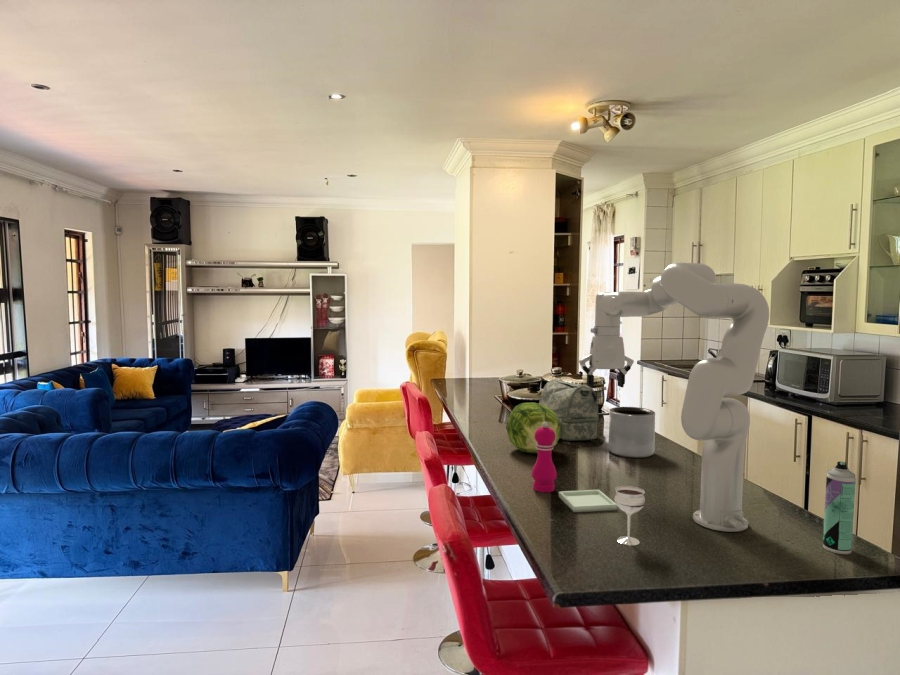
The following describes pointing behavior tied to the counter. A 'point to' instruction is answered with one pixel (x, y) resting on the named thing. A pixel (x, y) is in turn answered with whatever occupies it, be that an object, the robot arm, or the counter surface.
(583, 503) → the tray
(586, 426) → the lunch bag
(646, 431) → the planter
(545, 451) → the pepper mill
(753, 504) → the counter surface
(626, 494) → the wineglass
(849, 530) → the spray can
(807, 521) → the counter surface
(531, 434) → the lettuce
